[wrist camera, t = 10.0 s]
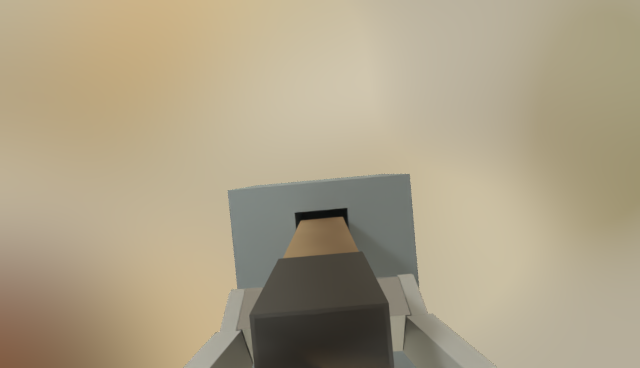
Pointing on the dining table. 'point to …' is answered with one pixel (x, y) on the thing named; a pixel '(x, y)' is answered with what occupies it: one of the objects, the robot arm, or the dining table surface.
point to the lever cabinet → (325, 202)
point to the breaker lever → (322, 305)
